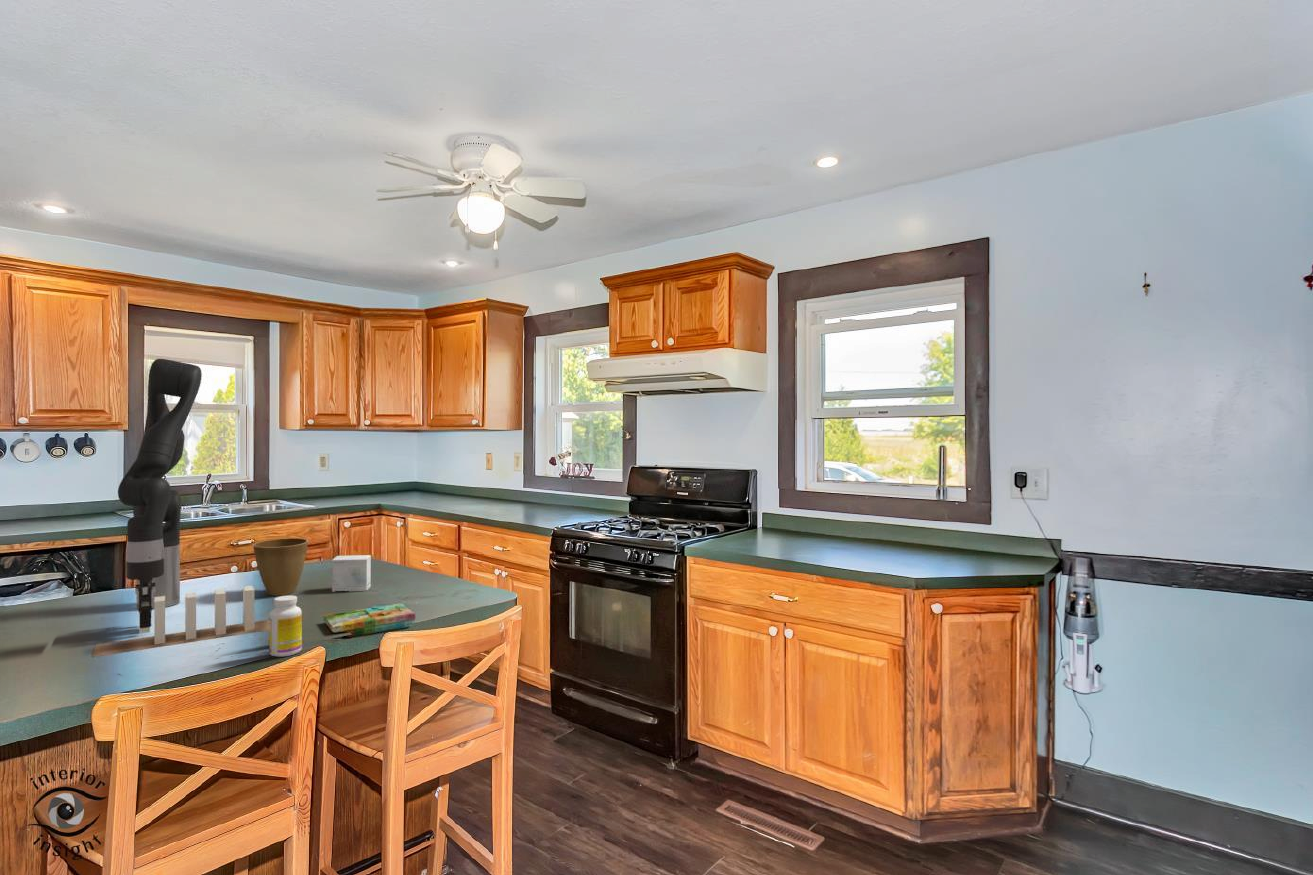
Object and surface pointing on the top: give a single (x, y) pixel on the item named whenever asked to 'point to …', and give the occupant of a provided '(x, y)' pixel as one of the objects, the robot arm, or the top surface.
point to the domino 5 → (248, 608)
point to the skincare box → (351, 573)
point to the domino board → (174, 639)
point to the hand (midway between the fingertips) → (145, 623)
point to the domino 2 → (159, 619)
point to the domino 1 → (144, 630)
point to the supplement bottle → (285, 627)
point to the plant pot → (280, 564)
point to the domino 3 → (190, 615)
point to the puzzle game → (370, 619)
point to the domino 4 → (220, 612)
